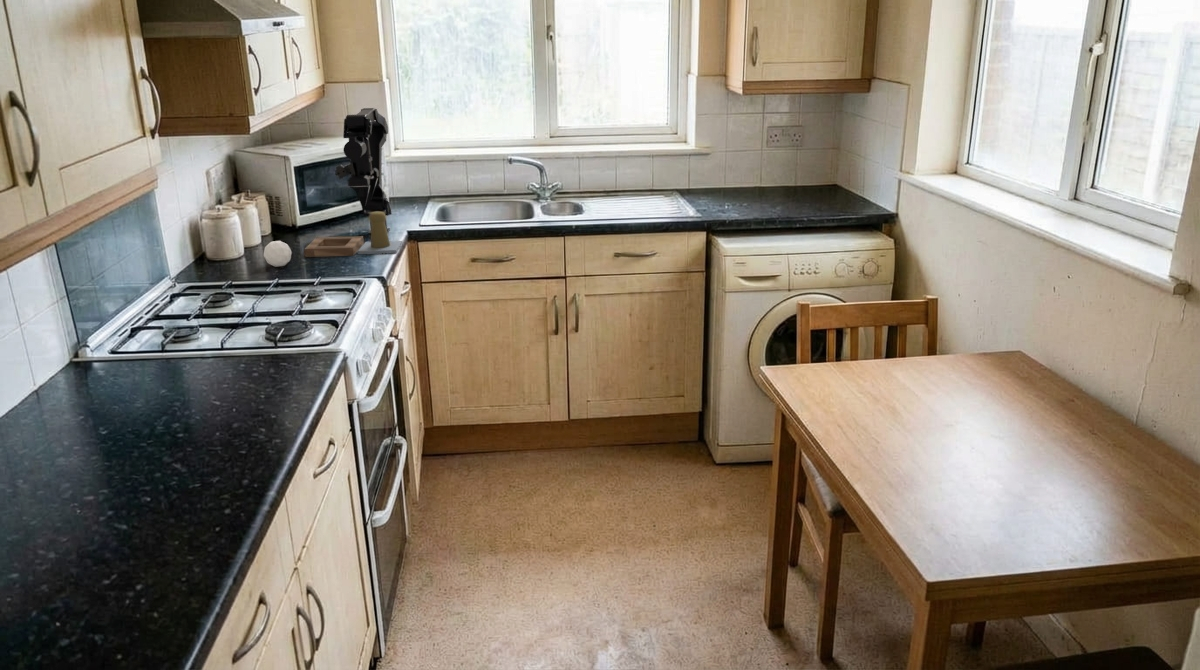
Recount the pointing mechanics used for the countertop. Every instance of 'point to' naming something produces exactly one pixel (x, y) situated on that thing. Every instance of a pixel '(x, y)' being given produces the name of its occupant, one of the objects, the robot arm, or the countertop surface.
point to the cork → (378, 230)
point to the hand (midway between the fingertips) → (366, 203)
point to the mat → (392, 248)
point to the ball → (277, 253)
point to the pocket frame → (334, 246)
